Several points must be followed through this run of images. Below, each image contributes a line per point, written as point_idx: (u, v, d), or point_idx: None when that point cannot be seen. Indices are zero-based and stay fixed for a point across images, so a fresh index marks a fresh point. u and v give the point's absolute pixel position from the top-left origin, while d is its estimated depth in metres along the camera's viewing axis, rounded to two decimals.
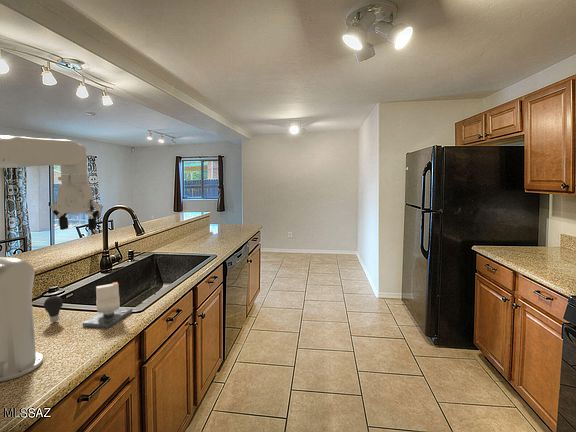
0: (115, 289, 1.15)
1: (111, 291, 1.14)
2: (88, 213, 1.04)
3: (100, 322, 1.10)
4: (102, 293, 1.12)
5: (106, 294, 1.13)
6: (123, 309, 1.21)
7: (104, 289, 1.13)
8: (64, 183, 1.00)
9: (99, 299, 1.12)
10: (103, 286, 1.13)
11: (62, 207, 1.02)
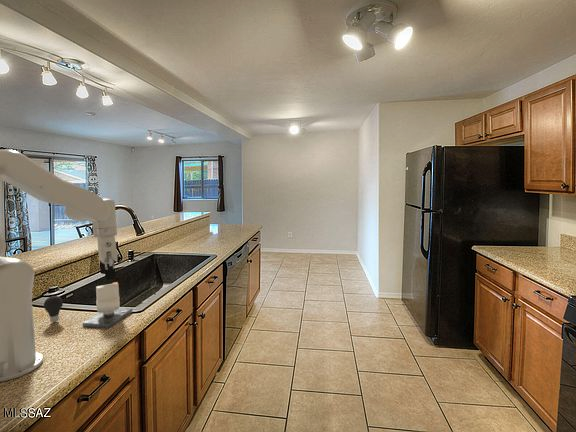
0: (115, 289, 1.15)
1: (111, 291, 1.14)
2: None
3: (100, 322, 1.10)
4: (102, 293, 1.12)
5: (106, 294, 1.13)
6: (123, 309, 1.21)
7: (104, 289, 1.13)
8: (116, 233, 1.14)
9: (99, 299, 1.12)
10: (103, 286, 1.13)
11: None
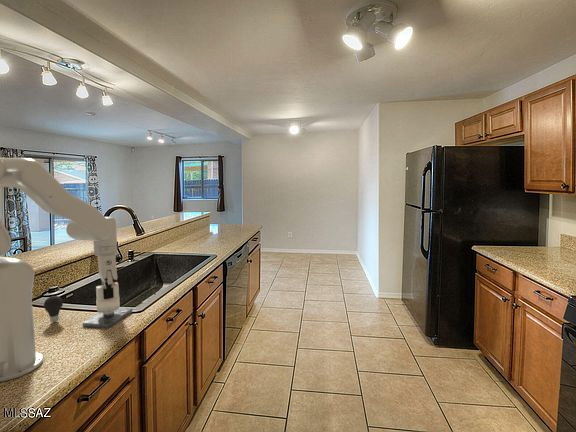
0: (115, 289, 1.15)
1: None
2: None
3: (100, 322, 1.10)
4: (102, 293, 1.12)
5: None
6: (123, 309, 1.21)
7: None
8: None
9: (99, 299, 1.12)
10: (103, 286, 1.13)
11: None
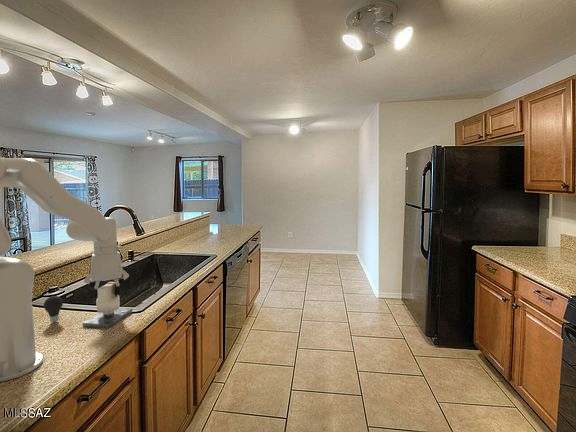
0: None
1: (112, 290, 1.16)
2: None
3: (100, 322, 1.10)
4: (107, 293, 1.13)
5: (110, 293, 1.14)
6: (123, 309, 1.21)
7: (109, 288, 1.13)
8: None
9: (106, 299, 1.12)
10: (105, 286, 1.13)
11: None
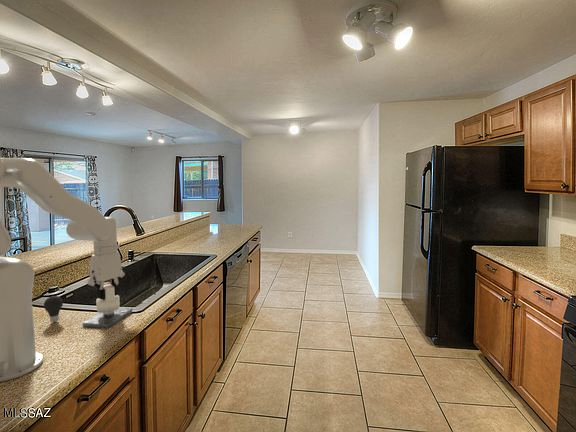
0: None
1: None
2: None
3: (100, 322, 1.10)
4: None
5: None
6: (123, 309, 1.21)
7: None
8: None
9: None
10: (109, 286, 1.14)
11: None
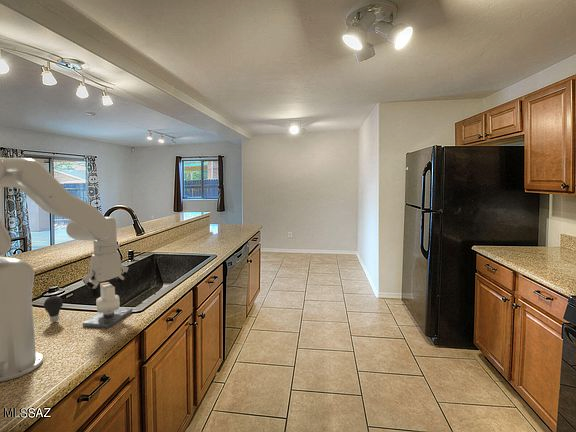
0: None
1: None
2: None
3: (100, 322, 1.10)
4: None
5: None
6: (123, 309, 1.21)
7: None
8: None
9: None
10: (109, 286, 1.14)
11: None
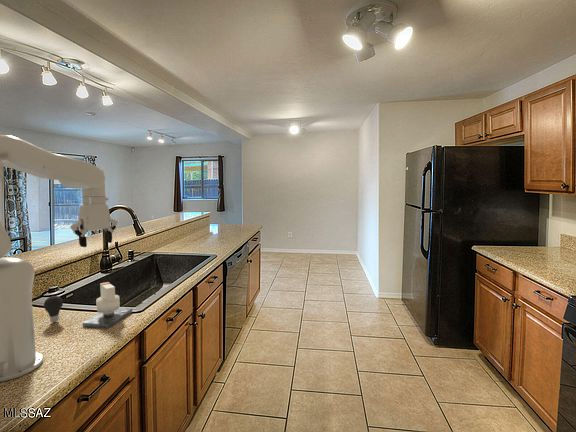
0: None
1: None
2: None
3: (100, 322, 1.10)
4: None
5: None
6: (123, 309, 1.21)
7: None
8: None
9: None
10: (109, 286, 1.14)
11: None
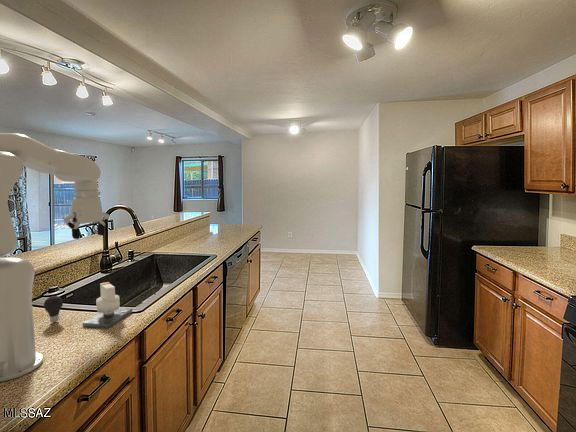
0: None
1: None
2: None
3: (100, 322, 1.10)
4: None
5: None
6: (123, 309, 1.21)
7: None
8: None
9: None
10: (109, 286, 1.14)
11: None
